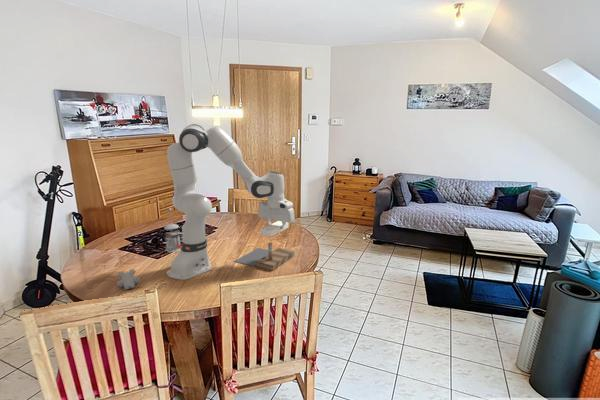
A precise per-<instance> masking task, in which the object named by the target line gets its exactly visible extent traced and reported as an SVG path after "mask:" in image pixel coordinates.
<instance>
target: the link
mask: <svg viewBox="0 0 600 400" xmlns="http://www.w3.org/2000/svg"><path fill="white" fill-rule="evenodd" d="M289 224H290V223H288V222H286V224H285V226H284V229H283V230H282V229H280V226H282V221H275V222H271V224H270V225H268V224H267V225H266V226H264V227H262V228H260V235H261V236H267V237H272V236H275V235H277V234H279V233H280V232H282V231H284V230H286V229H288V228H289V227H290V226H289Z"/></svg>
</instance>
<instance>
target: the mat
mask: <svg viewBox="0 0 600 400" xmlns="http://www.w3.org/2000/svg"><path fill="white" fill-rule="evenodd" d="M273 251H274V250H272V252H273ZM267 255H268V249H266V248H261V247H257V248H255V249H253V250H252V251H249V252H248V253H246V254H244V255H242V256H241V257H239V258H238V259H236V260H234V263H238V264H242V265H246V266H251V267H257V261H258V260H260V259H262V258H263V257H265V256H267Z"/></svg>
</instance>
